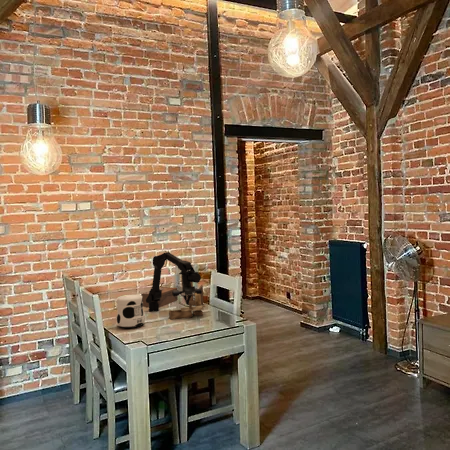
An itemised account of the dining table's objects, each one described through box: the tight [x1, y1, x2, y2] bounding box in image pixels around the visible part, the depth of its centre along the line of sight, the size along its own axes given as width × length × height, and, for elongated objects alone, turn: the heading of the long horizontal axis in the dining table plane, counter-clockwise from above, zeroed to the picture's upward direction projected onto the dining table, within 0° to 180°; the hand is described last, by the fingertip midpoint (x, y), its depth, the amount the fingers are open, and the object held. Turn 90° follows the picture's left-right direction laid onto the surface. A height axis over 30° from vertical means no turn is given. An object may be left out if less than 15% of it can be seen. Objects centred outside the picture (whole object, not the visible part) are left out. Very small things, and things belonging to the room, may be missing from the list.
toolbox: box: [168, 309, 204, 321], centre depth 292 cm, size 22×10×4 cm, turn 105°
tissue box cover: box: [140, 286, 179, 309], centre depth 333 cm, size 26×14×10 cm, turn 153°
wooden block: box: [187, 282, 204, 307], centre depth 323 cm, size 4×11×18 cm, turn 104°
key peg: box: [194, 293, 202, 307], centre depth 303 cm, size 4×4×14 cm
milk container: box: [115, 294, 146, 329], centre depth 273 cm, size 17×17×18 cm
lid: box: [180, 304, 207, 312], centre depth 292 cm, size 17×8×3 cm, turn 105°
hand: (187, 305), depth 290 cm, fingers closed
